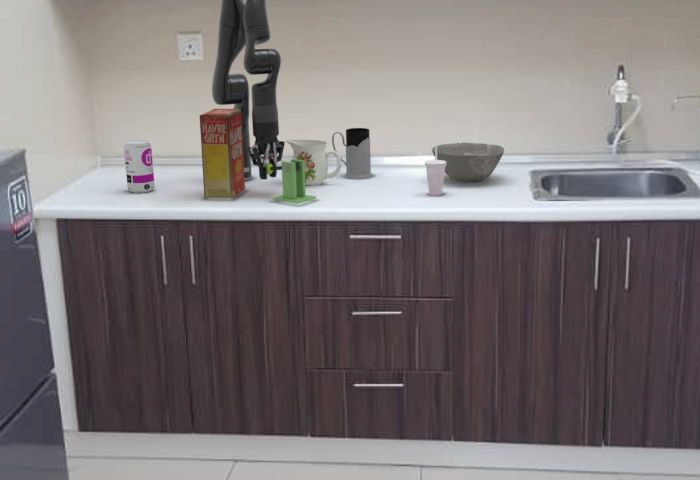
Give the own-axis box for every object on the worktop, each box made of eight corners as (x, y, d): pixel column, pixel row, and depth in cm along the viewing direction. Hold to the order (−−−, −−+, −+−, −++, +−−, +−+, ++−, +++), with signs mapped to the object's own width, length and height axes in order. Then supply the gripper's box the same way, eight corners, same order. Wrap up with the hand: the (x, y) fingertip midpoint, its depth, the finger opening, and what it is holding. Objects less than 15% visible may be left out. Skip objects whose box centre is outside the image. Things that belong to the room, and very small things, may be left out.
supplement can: (160, 188, 306) (156, 140, 301) (144, 194, 298) (139, 145, 294) (139, 186, 309) (134, 139, 304) (122, 192, 302) (117, 143, 297)
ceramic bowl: (486, 190, 294) (486, 157, 291) (418, 183, 306) (418, 151, 303) (516, 177, 312) (516, 145, 309) (451, 170, 324) (451, 140, 321)
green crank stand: (272, 201, 286) (270, 161, 282) (290, 196, 292) (288, 157, 288) (299, 205, 280) (297, 165, 277) (316, 200, 286) (315, 160, 283)
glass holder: (362, 179, 313) (361, 132, 308) (325, 175, 320) (324, 129, 315) (377, 174, 320) (376, 128, 315) (340, 170, 327) (339, 125, 322)
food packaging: (233, 200, 288) (228, 114, 281) (202, 199, 290) (196, 114, 282) (246, 190, 301) (242, 108, 293) (217, 189, 302) (211, 108, 295)
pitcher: (336, 190, 299) (334, 145, 295) (280, 187, 304) (278, 143, 300) (347, 182, 309) (345, 139, 305) (293, 180, 314) (291, 137, 310)
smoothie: (448, 192, 293) (449, 145, 289) (443, 197, 287) (443, 149, 283) (428, 191, 295) (428, 144, 291) (422, 195, 289) (422, 148, 285)
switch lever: (260, 175, 289) (258, 164, 288) (268, 173, 292) (266, 162, 291) (293, 173, 281) (292, 162, 280) (301, 171, 284) (299, 160, 283)
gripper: (271, 115, 292) (274, 172, 297) (238, 121, 281) (242, 181, 287) (291, 117, 288) (293, 175, 293) (258, 123, 277) (261, 183, 282)
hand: (268, 177), depth 290 cm, fingers closed on switch lever, 3 cm apart
